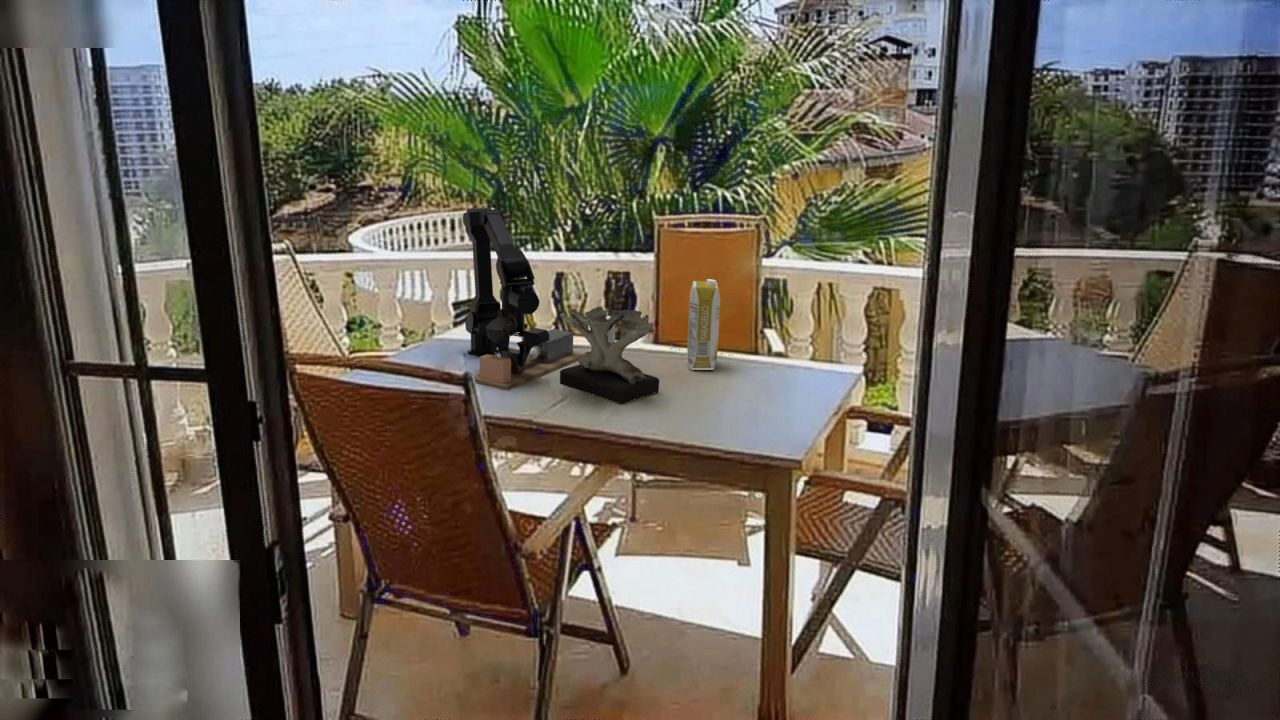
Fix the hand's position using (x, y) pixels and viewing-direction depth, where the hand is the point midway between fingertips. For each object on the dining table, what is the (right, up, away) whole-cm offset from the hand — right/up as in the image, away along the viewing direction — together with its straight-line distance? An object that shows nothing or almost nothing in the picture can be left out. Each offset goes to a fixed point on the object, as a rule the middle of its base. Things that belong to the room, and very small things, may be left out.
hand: (513, 364), depth 261 cm
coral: (+24, -7, -9) cm, 26 cm away
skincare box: (+22, +1, +17) cm, 28 cm away
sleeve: (+8, +1, +15) cm, 17 cm away
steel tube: (+3, 0, +6) cm, 7 cm away
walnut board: (+3, -1, +7) cm, 8 cm away
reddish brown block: (-4, -4, -6) cm, 8 cm away
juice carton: (+49, -1, +13) cm, 51 cm away
